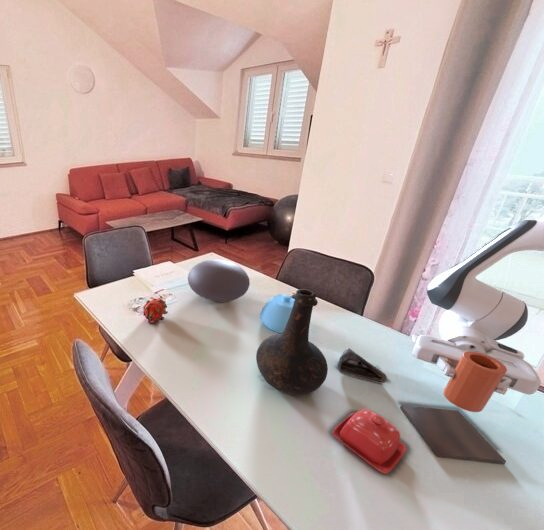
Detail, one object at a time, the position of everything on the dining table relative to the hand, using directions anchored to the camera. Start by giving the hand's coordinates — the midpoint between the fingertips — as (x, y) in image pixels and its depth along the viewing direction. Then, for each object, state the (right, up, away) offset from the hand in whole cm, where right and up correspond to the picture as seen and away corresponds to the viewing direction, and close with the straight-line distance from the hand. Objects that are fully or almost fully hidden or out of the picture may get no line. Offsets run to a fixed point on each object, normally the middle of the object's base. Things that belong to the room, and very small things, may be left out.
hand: (475, 382), depth 66 cm
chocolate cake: (-7, -6, +25) cm, 27 cm away
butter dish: (-20, -16, +4) cm, 26 cm away
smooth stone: (-40, +12, +66) cm, 78 cm away
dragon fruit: (-66, +5, +50) cm, 83 cm away
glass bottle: (-30, -8, +22) cm, 38 cm away
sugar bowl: (-21, +3, +47) cm, 51 cm away
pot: (+1, -5, +3) cm, 6 cm away
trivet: (0, -14, +6) cm, 16 cm away
